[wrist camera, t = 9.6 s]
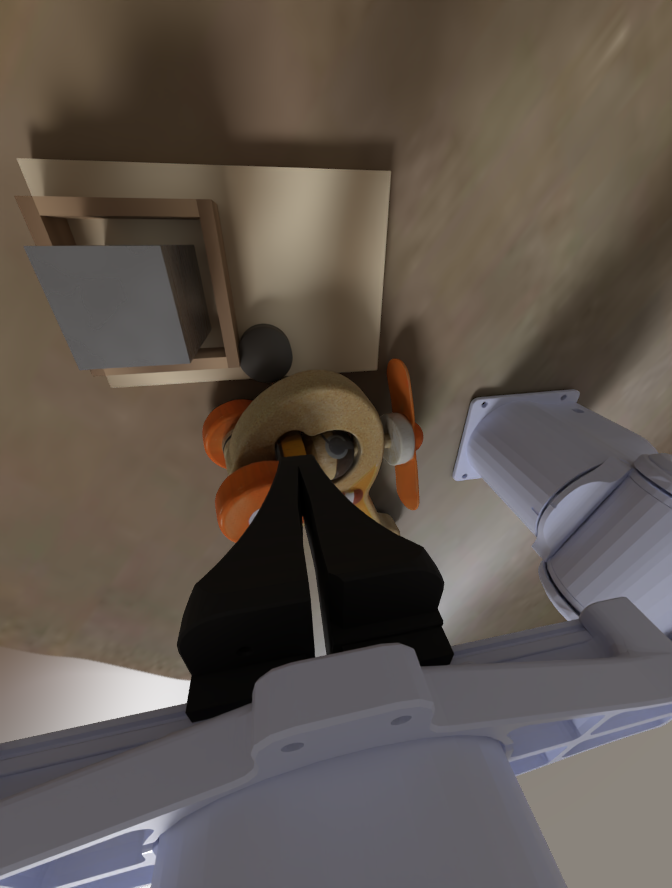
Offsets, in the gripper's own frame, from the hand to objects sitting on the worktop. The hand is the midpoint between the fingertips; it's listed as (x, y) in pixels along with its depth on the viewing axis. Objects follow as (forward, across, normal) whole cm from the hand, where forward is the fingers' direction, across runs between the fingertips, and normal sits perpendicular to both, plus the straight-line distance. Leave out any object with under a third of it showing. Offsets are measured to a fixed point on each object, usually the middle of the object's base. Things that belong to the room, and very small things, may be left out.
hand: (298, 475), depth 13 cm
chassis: (+10, +2, -6) cm, 12 cm away
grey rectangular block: (+9, +6, -6) cm, 12 cm away
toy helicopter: (+6, +2, +10) cm, 11 cm away
